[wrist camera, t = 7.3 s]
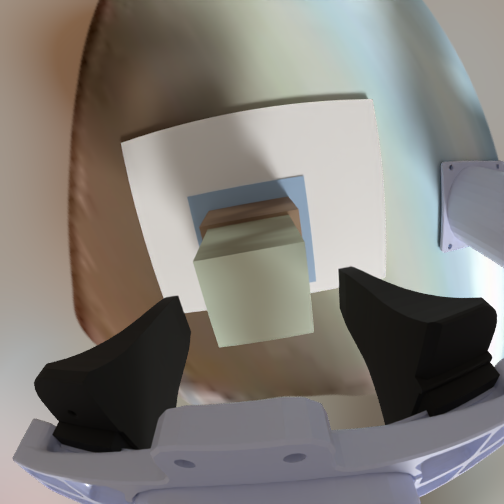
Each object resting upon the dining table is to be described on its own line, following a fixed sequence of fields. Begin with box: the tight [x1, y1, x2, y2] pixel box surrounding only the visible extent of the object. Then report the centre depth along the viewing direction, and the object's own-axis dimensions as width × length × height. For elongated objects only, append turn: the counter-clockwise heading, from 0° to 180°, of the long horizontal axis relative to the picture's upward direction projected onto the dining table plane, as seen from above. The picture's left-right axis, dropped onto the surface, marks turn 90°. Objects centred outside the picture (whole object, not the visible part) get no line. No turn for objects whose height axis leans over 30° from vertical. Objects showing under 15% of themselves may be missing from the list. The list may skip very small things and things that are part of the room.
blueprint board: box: [121, 99, 386, 313], centre depth 19 cm, size 18×14×1 cm
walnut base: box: [199, 197, 302, 241], centre depth 18 cm, size 6×6×4 cm
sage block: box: [193, 215, 314, 347], centre depth 14 cm, size 4×4×4 cm
